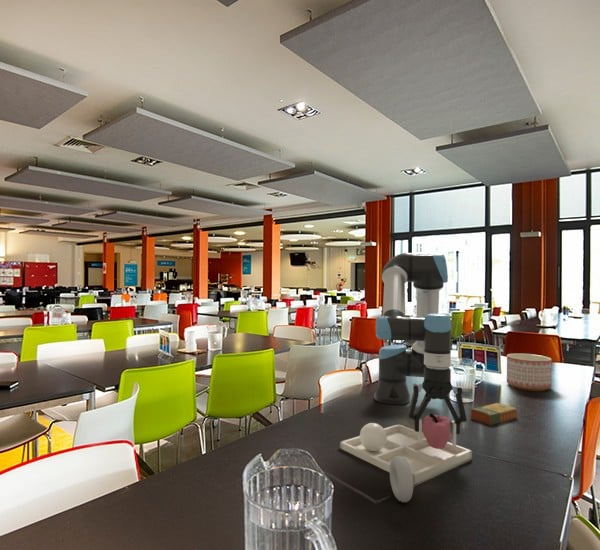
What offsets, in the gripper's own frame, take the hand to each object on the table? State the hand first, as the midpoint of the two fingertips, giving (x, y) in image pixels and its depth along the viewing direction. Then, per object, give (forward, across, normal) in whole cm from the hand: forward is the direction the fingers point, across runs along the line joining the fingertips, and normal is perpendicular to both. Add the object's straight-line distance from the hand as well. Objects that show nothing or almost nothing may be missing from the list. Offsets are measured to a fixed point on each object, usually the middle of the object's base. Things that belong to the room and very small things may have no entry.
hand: (436, 443), depth 123 cm
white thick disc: (+4, -13, -26) cm, 29 cm away
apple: (+1, 0, 0) cm, 1 cm away
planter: (+4, +59, +91) cm, 109 cm away
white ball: (+3, -18, 0) cm, 19 cm away
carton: (+5, +28, +39) cm, 48 cm away
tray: (+4, -9, 0) cm, 10 cm away
